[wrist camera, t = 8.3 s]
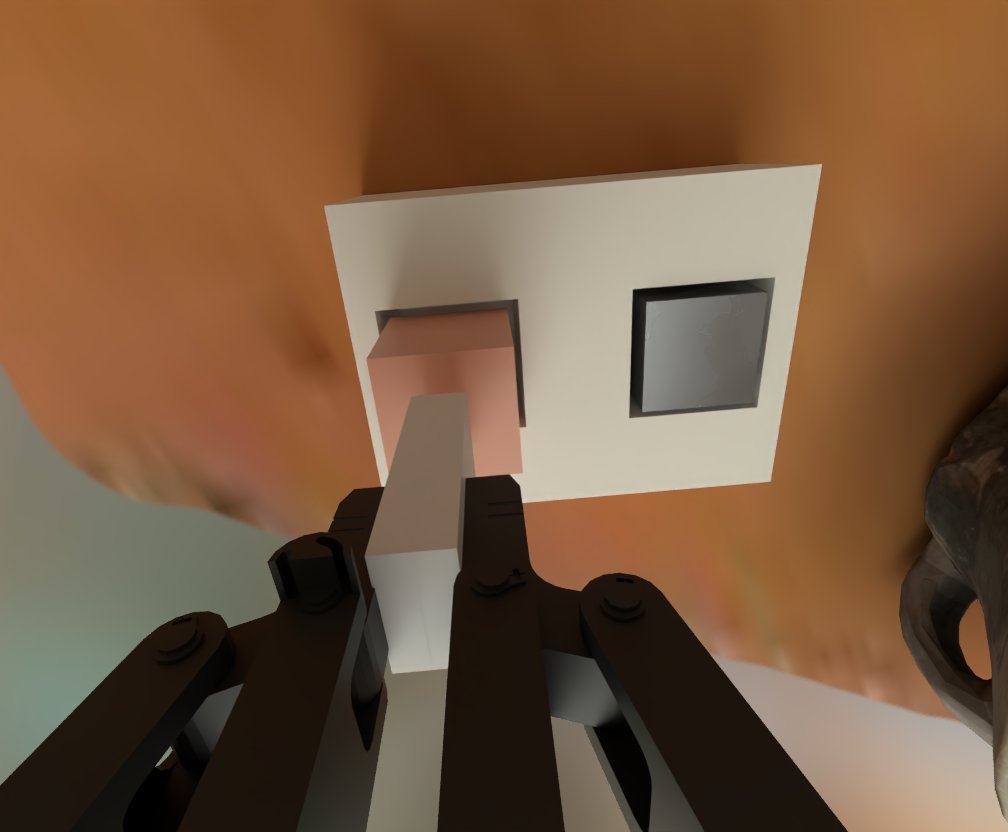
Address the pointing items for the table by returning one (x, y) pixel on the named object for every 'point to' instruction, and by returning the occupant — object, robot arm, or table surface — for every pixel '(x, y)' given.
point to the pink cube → (452, 379)
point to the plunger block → (591, 307)
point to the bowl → (966, 581)
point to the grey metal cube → (695, 344)
